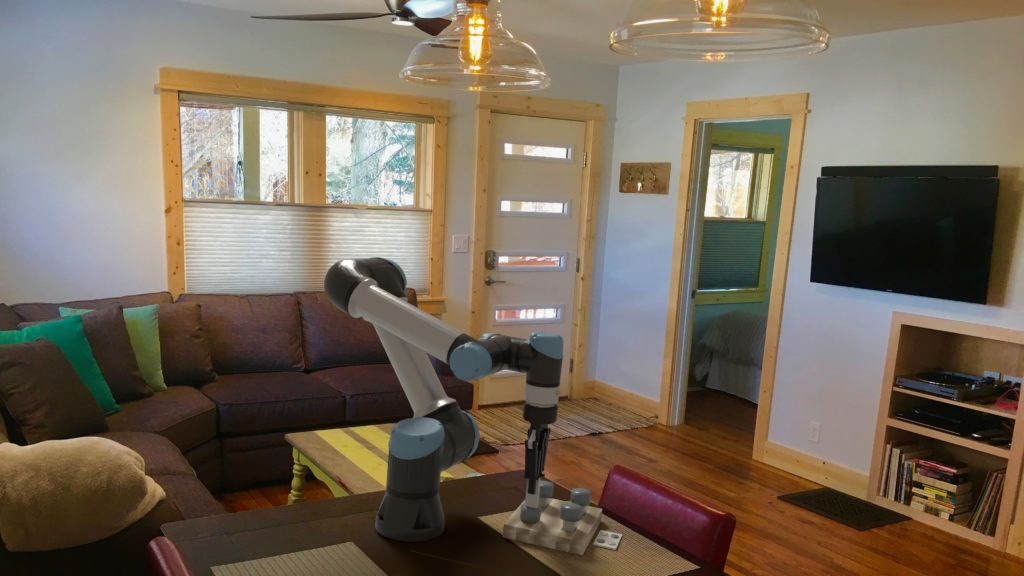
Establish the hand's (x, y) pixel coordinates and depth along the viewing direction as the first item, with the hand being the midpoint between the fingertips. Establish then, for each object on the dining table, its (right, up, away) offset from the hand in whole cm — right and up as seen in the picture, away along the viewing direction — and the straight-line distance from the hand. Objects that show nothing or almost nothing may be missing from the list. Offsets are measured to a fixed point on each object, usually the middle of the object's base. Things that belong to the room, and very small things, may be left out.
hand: (531, 506), depth 167 cm
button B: (+3, -3, +10) cm, 11 cm away
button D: (+11, -4, +7) cm, 14 cm away
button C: (+8, -5, -2) cm, 10 cm away
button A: (-1, -6, +1) cm, 6 cm away
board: (+5, -6, +4) cm, 9 cm away
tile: (+17, -8, 0) cm, 19 cm away
